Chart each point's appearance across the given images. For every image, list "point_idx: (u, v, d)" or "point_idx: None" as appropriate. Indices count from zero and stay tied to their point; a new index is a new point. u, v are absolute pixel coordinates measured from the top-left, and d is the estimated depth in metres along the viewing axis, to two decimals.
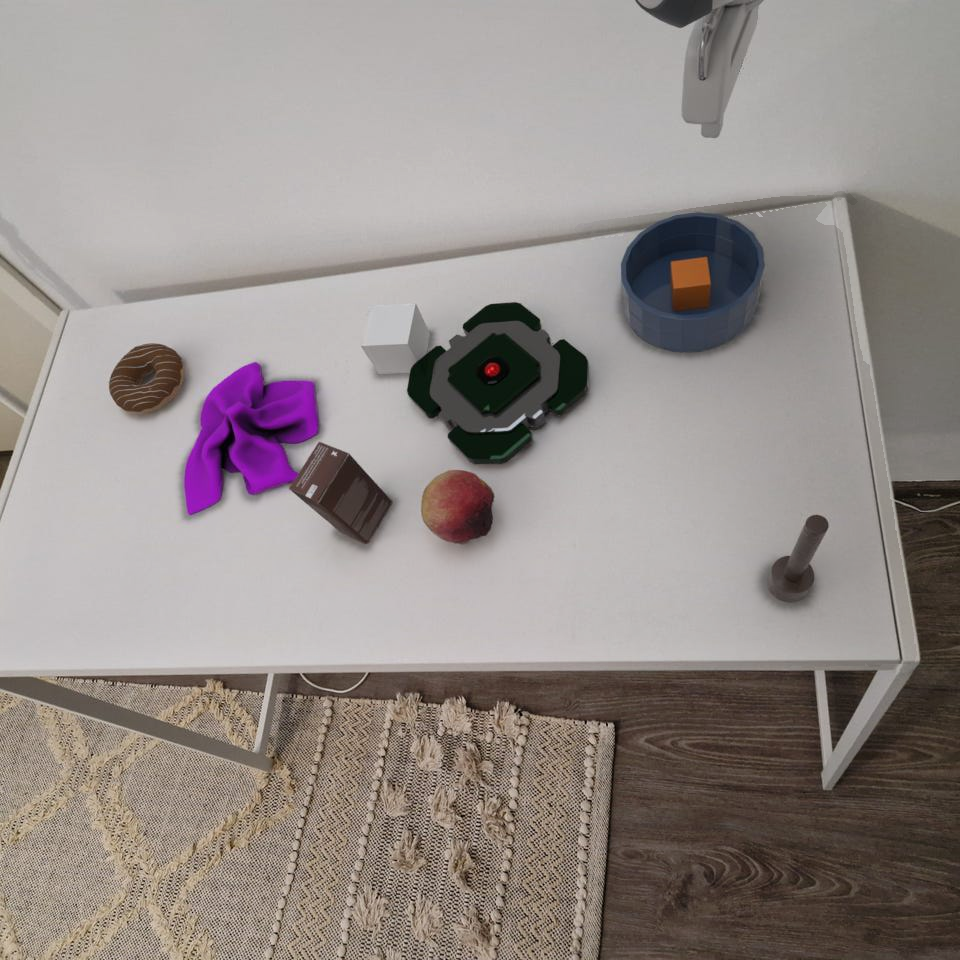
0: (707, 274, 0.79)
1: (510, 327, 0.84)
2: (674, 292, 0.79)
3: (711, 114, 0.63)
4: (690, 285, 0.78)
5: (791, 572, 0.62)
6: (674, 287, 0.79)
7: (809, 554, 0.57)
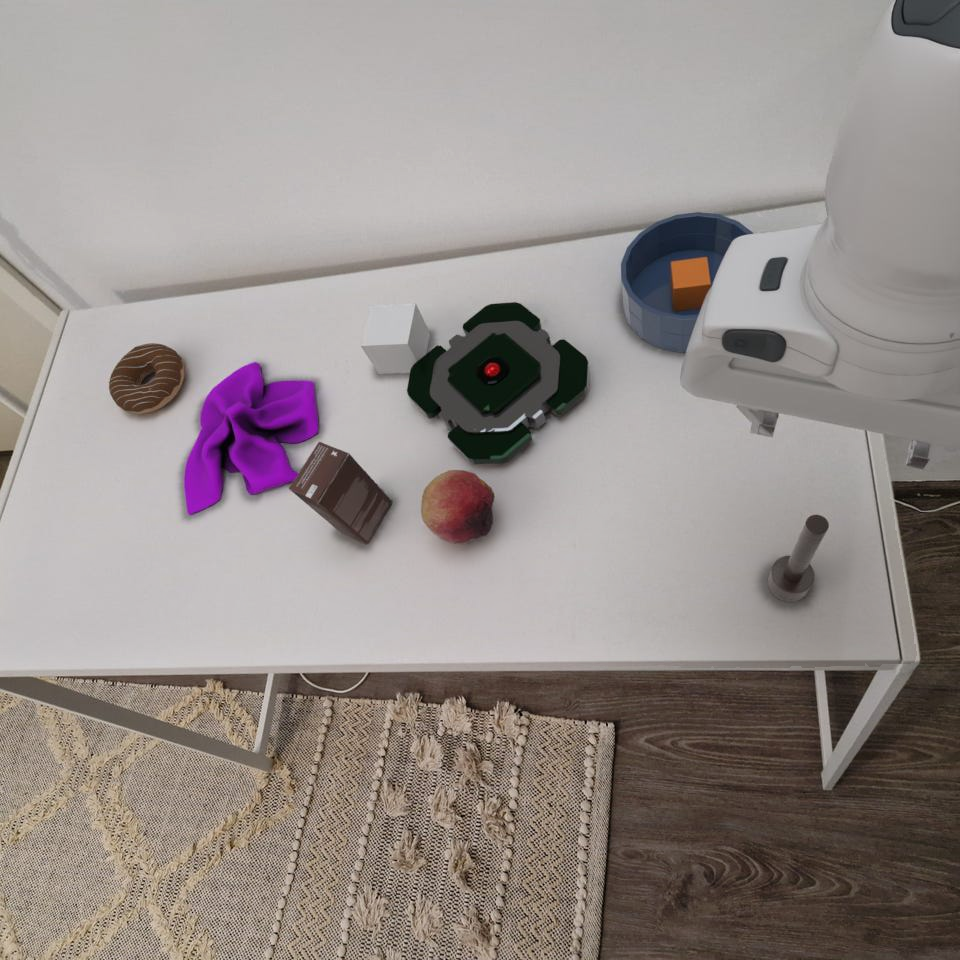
0: (707, 274, 0.79)
1: (510, 327, 0.84)
2: (674, 292, 0.79)
3: None
4: (690, 285, 0.78)
5: (791, 572, 0.62)
6: (674, 287, 0.79)
7: (809, 554, 0.57)
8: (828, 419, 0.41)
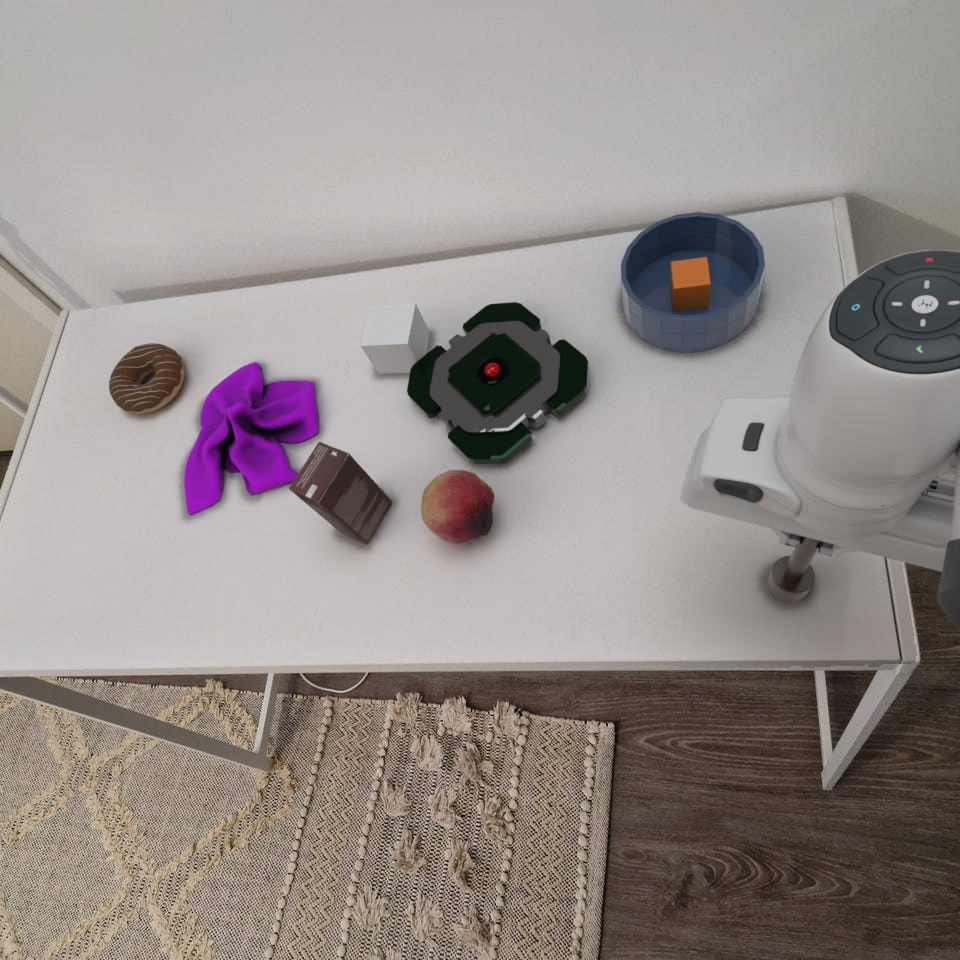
0: (707, 274, 0.79)
1: (510, 327, 0.84)
2: (674, 292, 0.79)
3: None
4: (690, 285, 0.78)
5: (791, 572, 0.62)
6: (674, 287, 0.79)
7: (809, 554, 0.57)
8: (798, 533, 0.52)
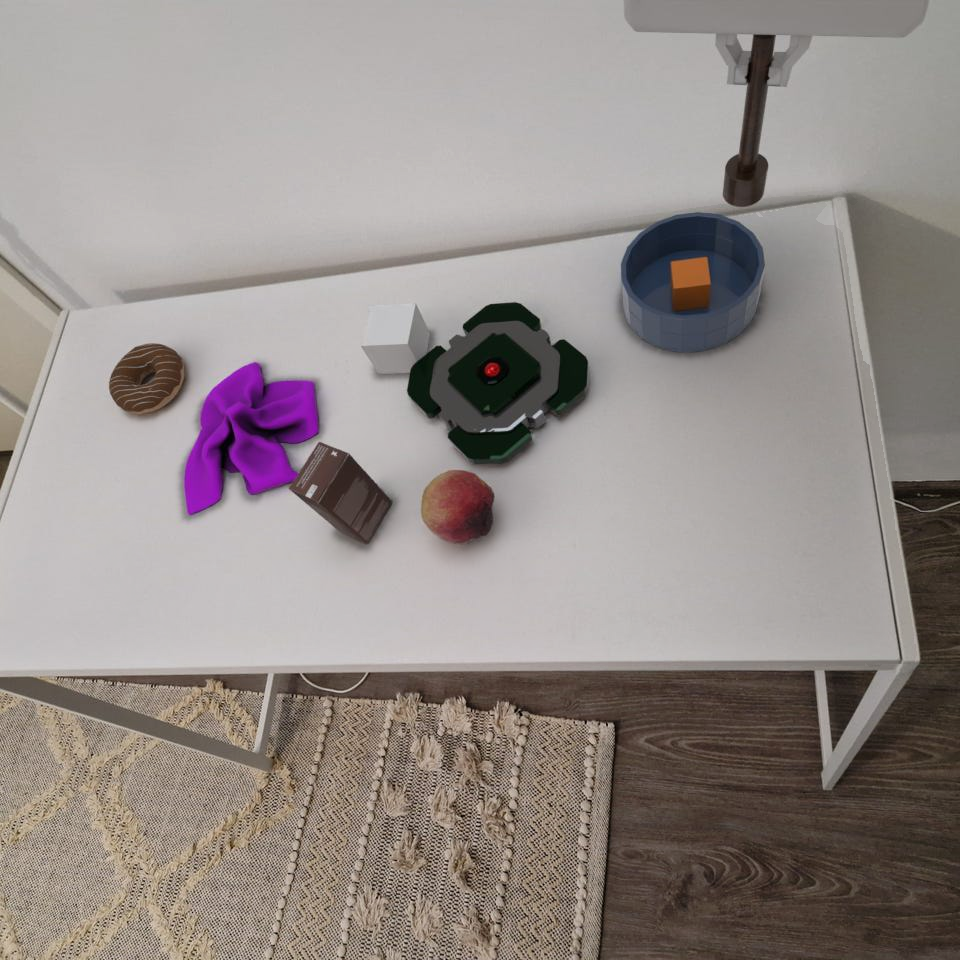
0: (707, 274, 0.79)
1: (510, 327, 0.84)
2: (674, 292, 0.79)
3: None
4: (690, 285, 0.78)
5: (743, 150, 0.60)
6: (674, 287, 0.79)
7: (758, 94, 0.55)
8: (743, 25, 0.50)
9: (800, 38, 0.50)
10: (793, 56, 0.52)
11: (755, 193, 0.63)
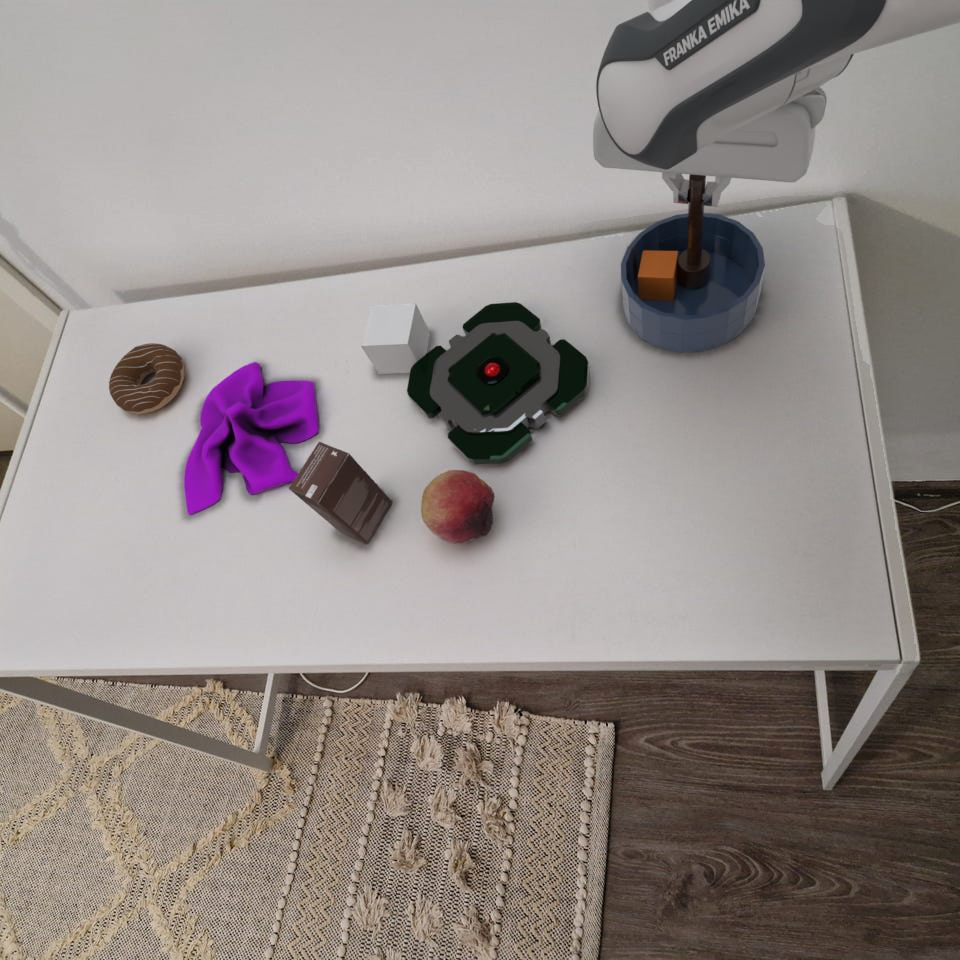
0: (673, 268, 0.80)
1: (510, 327, 0.84)
2: (638, 280, 0.81)
3: (812, 149, 0.64)
4: (653, 276, 0.80)
5: (690, 250, 0.79)
6: (638, 275, 0.81)
7: (697, 214, 0.74)
8: (680, 169, 0.68)
9: (722, 177, 0.68)
10: (719, 188, 0.70)
11: (702, 279, 0.81)
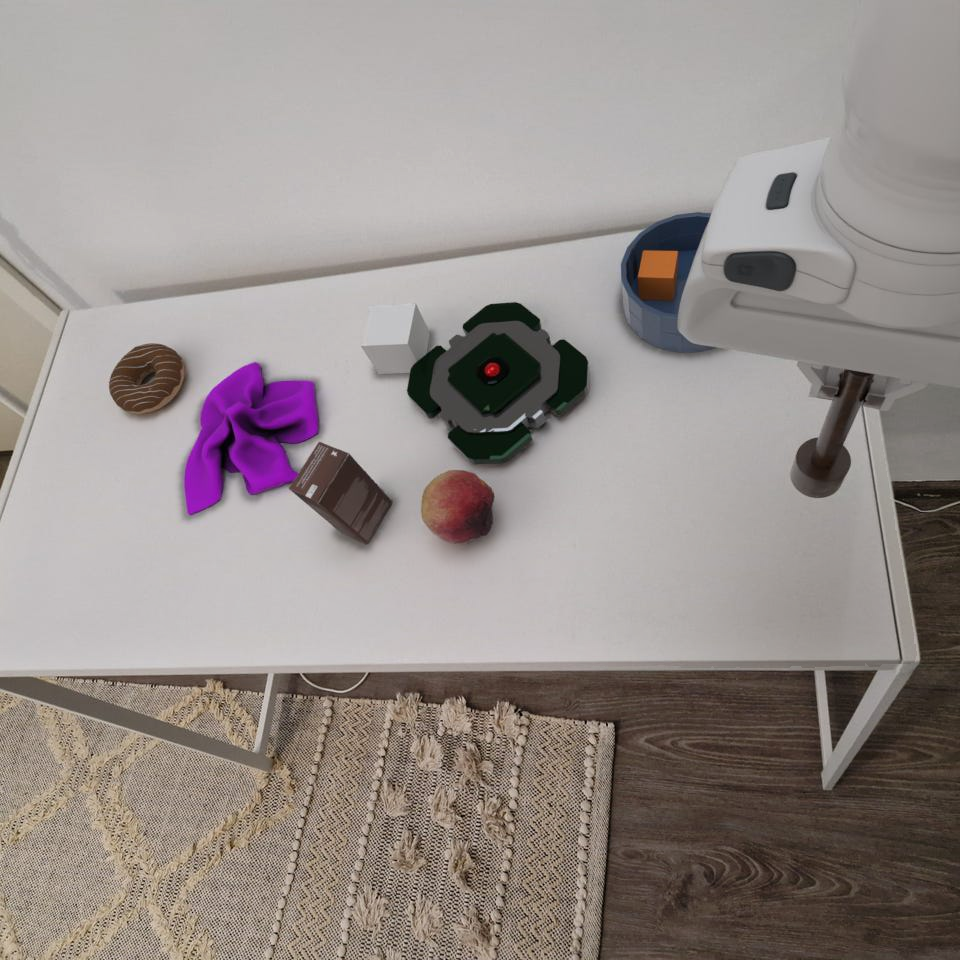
0: (673, 268, 0.80)
1: (510, 327, 0.84)
2: (638, 280, 0.81)
3: None
4: (653, 276, 0.80)
5: (822, 452, 0.48)
6: (638, 275, 0.81)
7: (848, 416, 0.43)
8: (840, 362, 0.38)
9: None
10: (903, 391, 0.39)
11: (834, 488, 0.51)
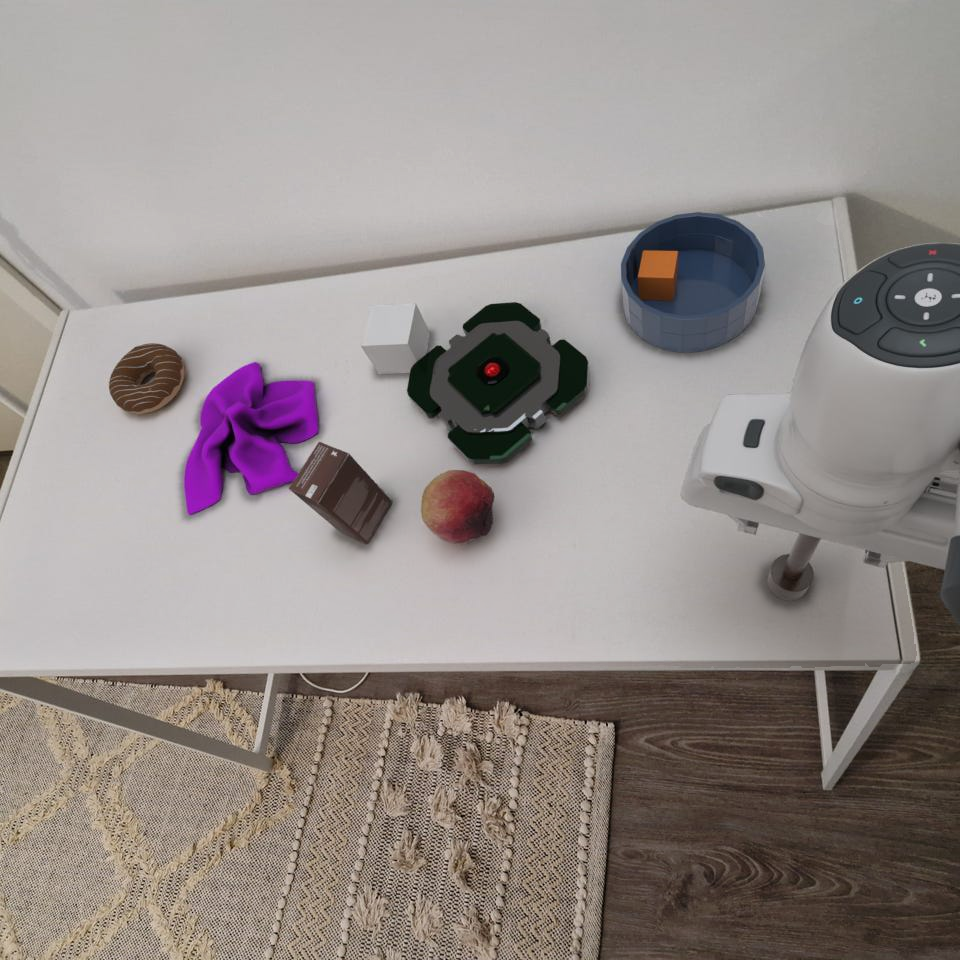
0: (673, 268, 0.80)
1: (510, 327, 0.84)
2: (638, 280, 0.81)
3: None
4: (653, 276, 0.80)
5: (791, 571, 0.62)
6: (638, 275, 0.81)
7: (808, 552, 0.57)
8: (799, 531, 0.52)
9: None
10: (894, 559, 0.52)
11: (801, 594, 0.65)
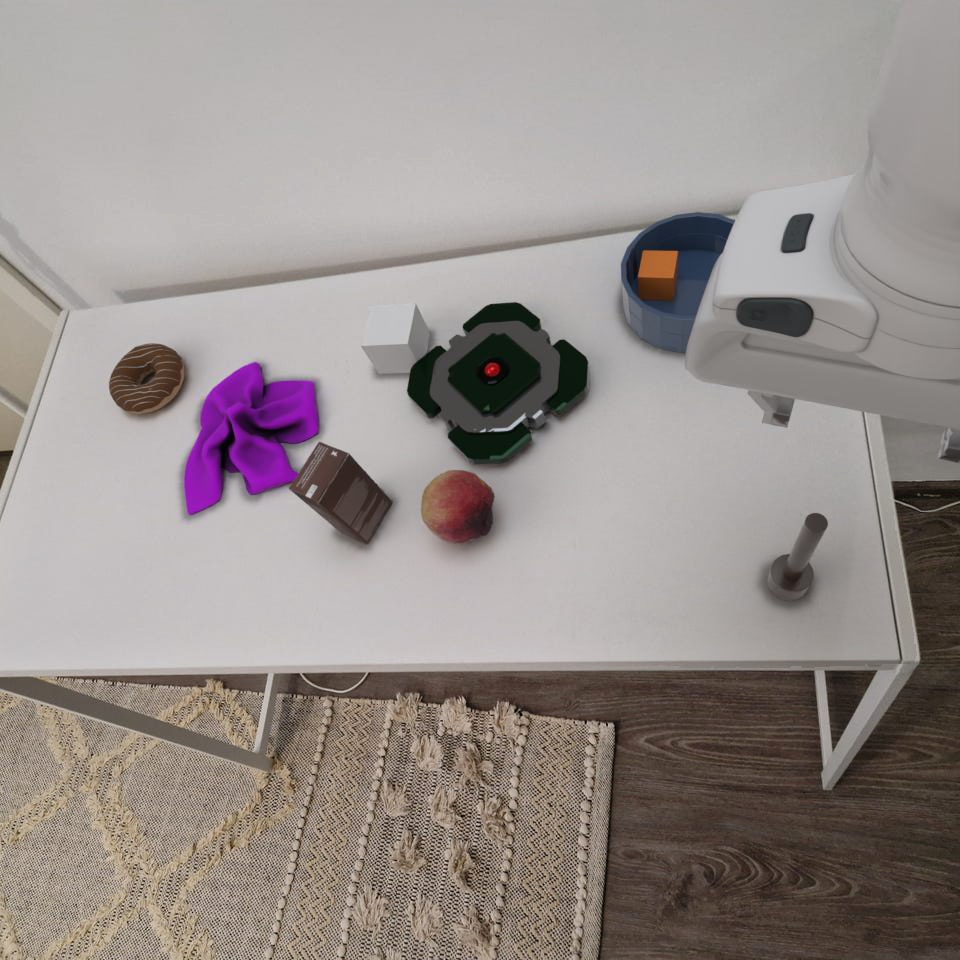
0: (673, 268, 0.80)
1: (510, 327, 0.84)
2: (638, 280, 0.81)
3: None
4: (653, 276, 0.80)
5: (791, 571, 0.62)
6: (638, 275, 0.81)
7: (808, 552, 0.57)
8: (854, 405, 0.36)
9: None
10: None
11: (801, 594, 0.65)
